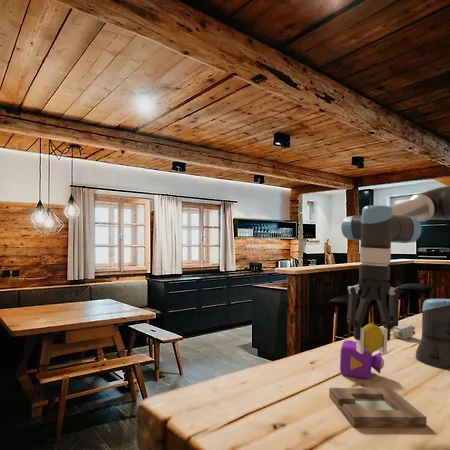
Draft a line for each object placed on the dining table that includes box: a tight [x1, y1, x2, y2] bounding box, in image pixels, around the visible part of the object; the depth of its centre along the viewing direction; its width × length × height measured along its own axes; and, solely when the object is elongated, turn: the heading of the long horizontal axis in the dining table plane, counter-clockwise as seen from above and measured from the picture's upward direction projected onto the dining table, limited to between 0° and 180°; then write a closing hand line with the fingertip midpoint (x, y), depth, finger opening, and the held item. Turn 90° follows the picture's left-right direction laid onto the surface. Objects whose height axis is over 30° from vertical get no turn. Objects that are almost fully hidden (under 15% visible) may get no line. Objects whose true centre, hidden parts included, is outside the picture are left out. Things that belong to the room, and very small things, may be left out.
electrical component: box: [390, 322, 416, 341], centre depth 165 cm, size 24×6×5 cm, turn 113°
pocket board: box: [328, 387, 427, 429], centre depth 96 cm, size 18×16×2 cm
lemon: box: [362, 322, 383, 354], centre depth 98 cm, size 6×6×8 cm
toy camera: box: [339, 338, 385, 380], centre depth 122 cm, size 11×14×10 cm
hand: (371, 352), depth 98 cm, fingers closed on lemon, 5 cm apart
